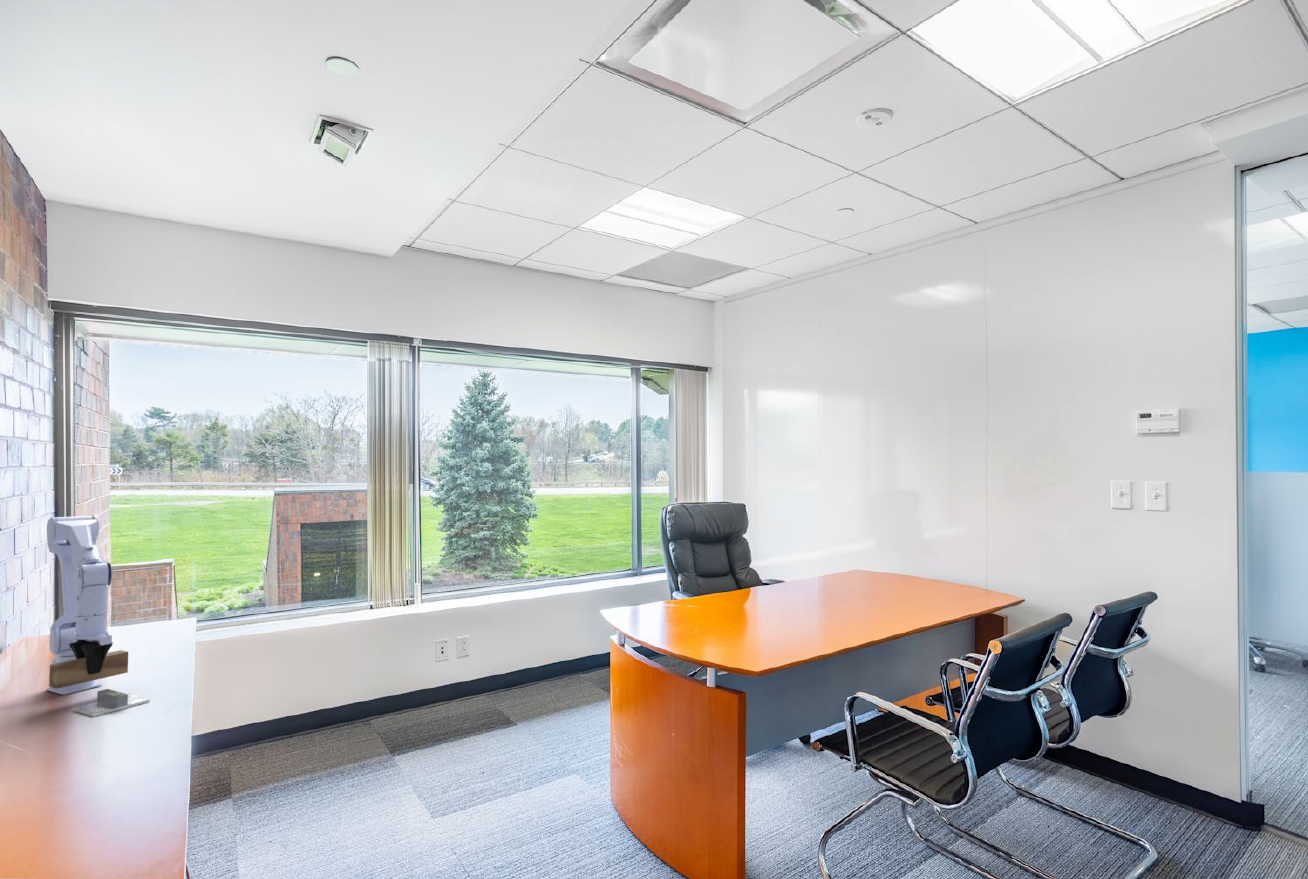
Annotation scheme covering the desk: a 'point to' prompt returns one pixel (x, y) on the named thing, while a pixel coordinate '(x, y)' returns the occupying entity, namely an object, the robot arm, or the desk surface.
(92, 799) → the desk surface
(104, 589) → the robot arm
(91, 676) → the walnut rod
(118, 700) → the balance stand
